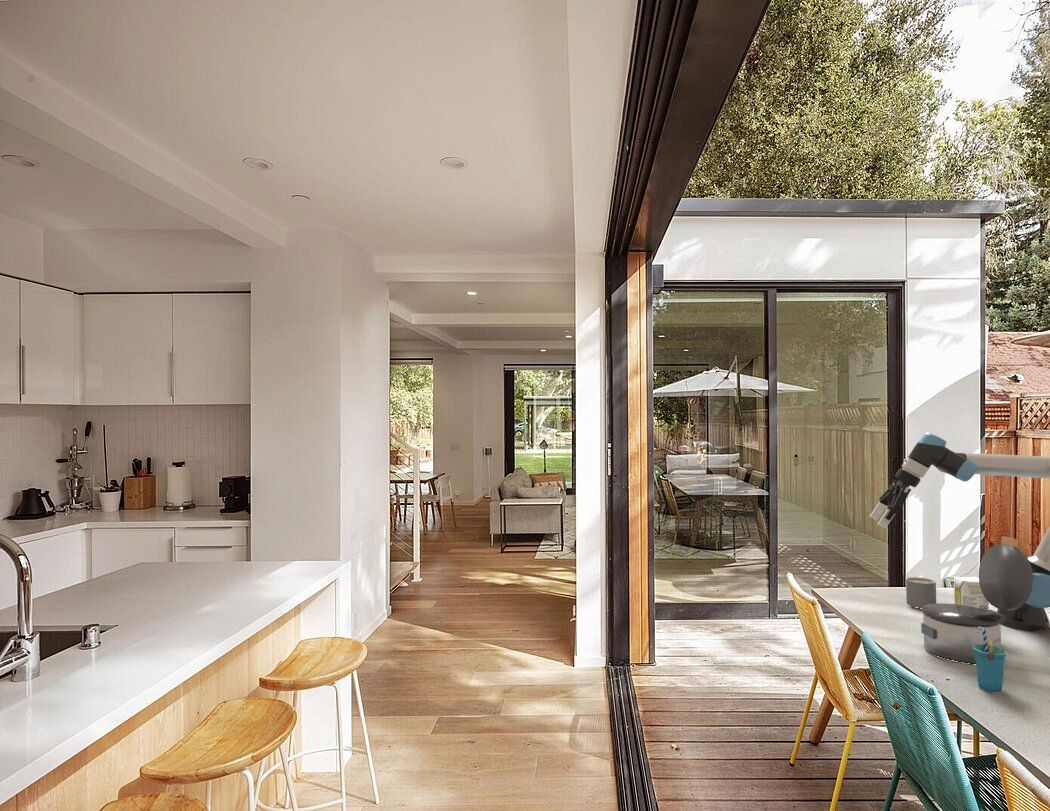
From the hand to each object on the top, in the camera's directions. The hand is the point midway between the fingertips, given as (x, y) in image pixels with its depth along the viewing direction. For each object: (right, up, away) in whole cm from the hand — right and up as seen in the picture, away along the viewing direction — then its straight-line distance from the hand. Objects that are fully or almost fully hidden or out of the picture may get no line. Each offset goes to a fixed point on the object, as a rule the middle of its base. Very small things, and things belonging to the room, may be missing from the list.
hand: (876, 522), depth 233 cm
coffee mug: (+27, -36, +18) cm, 49 cm away
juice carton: (+23, -35, -17) cm, 45 cm away
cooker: (+9, -35, -32) cm, 48 cm away
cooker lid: (+21, -10, -32) cm, 40 cm away
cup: (-1, -35, -57) cm, 67 cm away
